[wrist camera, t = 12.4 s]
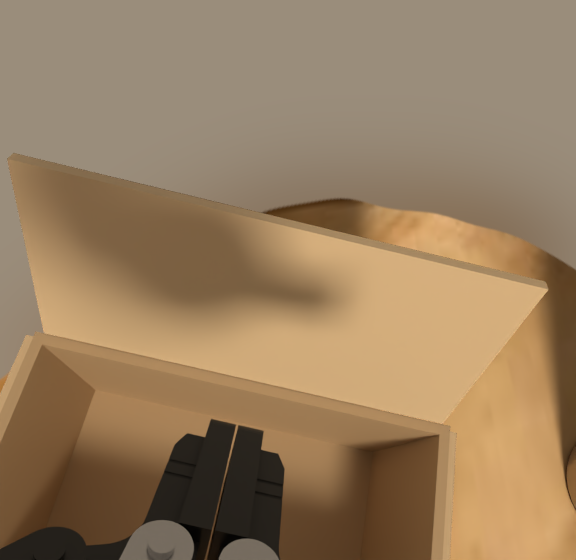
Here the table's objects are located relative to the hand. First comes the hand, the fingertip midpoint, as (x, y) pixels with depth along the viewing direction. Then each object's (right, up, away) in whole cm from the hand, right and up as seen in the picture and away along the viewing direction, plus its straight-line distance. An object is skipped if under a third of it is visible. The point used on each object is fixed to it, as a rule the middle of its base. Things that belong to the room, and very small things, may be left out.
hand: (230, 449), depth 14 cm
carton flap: (0, +3, +10) cm, 11 cm away
